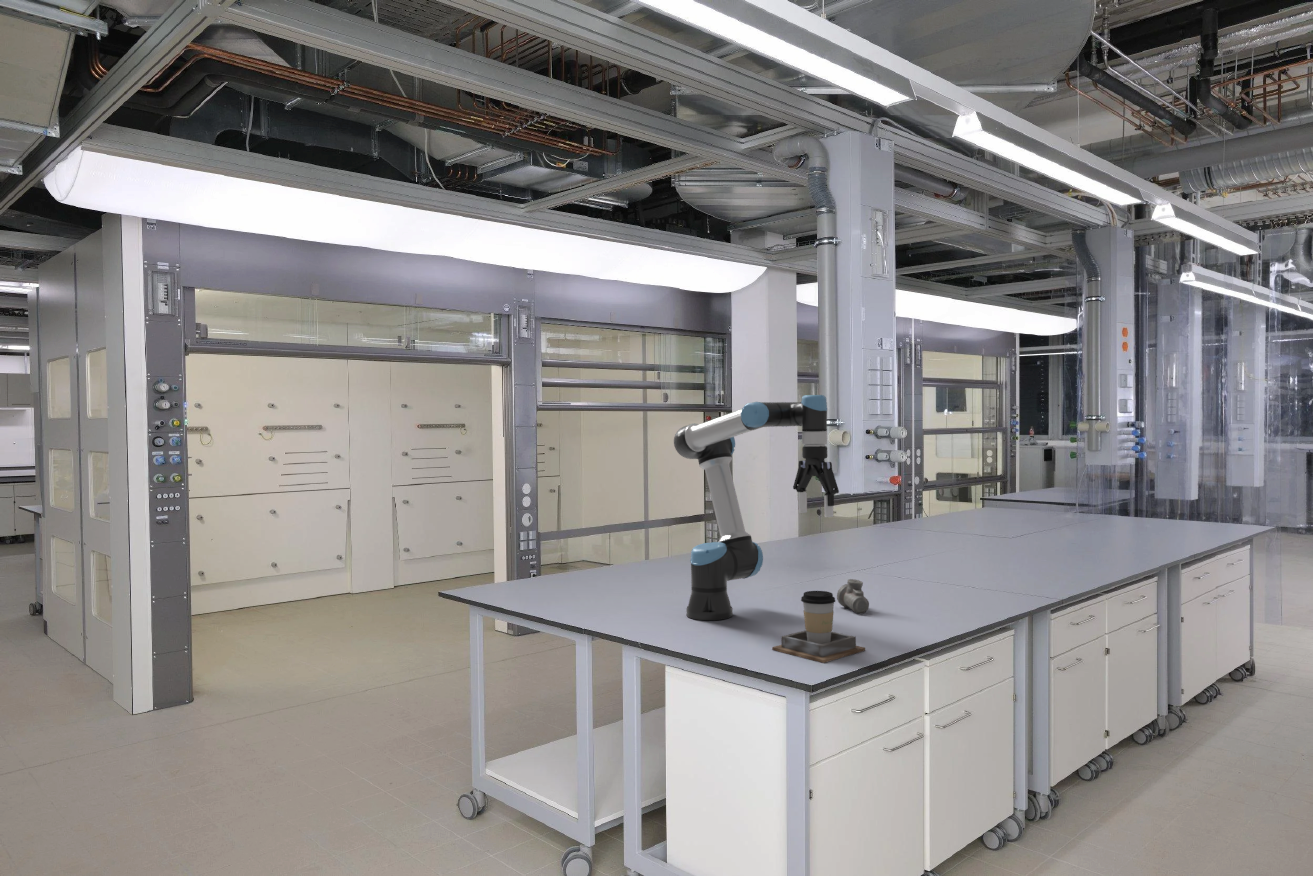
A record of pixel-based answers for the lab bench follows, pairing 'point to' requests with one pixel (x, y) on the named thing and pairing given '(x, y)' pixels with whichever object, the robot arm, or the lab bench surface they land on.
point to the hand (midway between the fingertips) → (815, 515)
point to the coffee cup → (818, 615)
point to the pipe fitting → (853, 596)
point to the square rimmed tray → (818, 647)
